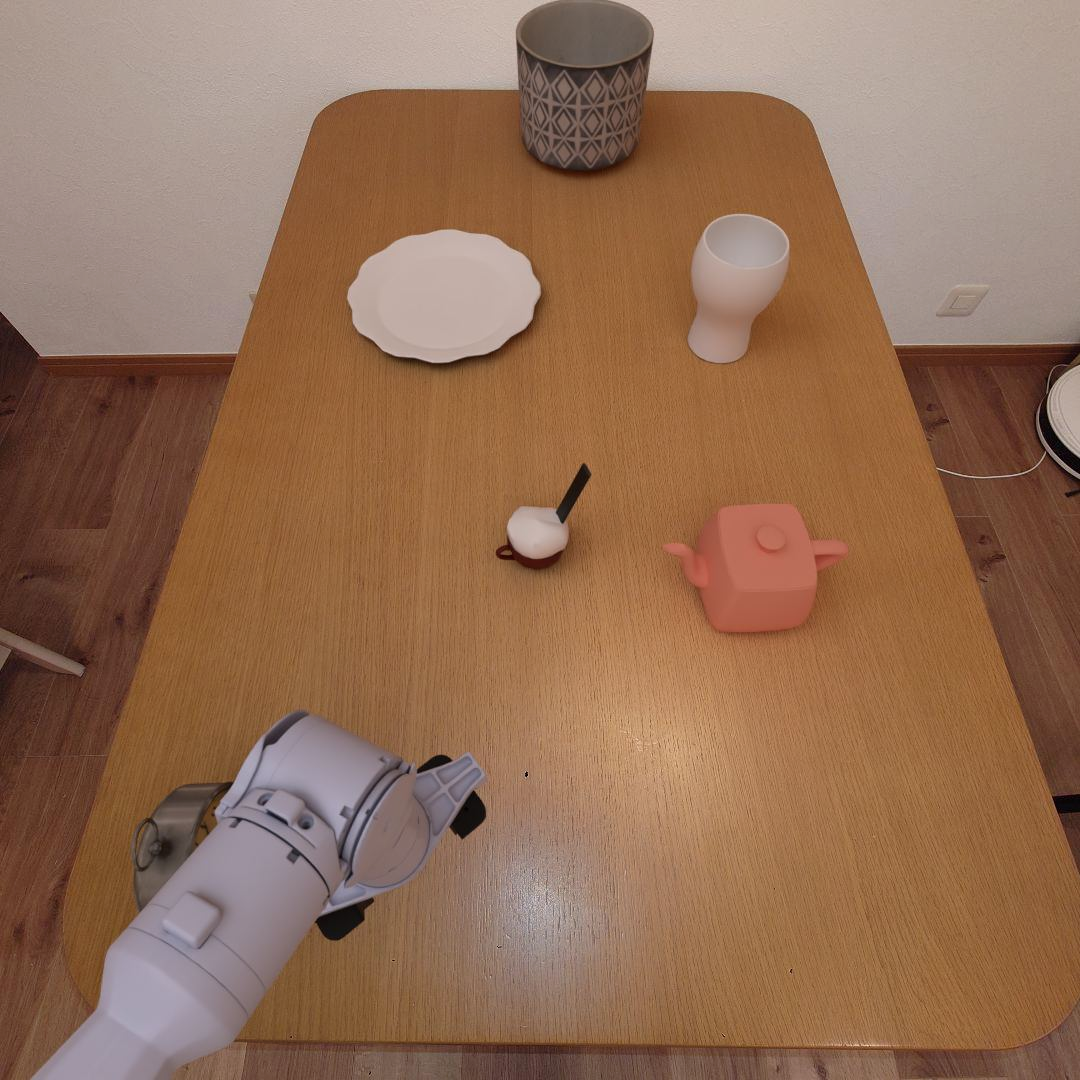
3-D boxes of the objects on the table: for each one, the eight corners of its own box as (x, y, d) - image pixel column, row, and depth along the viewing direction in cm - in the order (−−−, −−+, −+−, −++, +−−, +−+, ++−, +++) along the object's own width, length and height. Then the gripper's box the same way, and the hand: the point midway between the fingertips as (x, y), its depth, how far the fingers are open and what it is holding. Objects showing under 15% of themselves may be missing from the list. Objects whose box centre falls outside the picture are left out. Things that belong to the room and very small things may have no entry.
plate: (368, 390, 88) (365, 379, 86) (338, 260, 100) (335, 248, 98) (563, 347, 91) (563, 336, 90) (511, 227, 104) (510, 215, 102)
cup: (663, 355, 91) (683, 254, 78) (693, 303, 95) (717, 200, 82) (743, 383, 88) (778, 284, 75) (770, 328, 93) (807, 226, 80)
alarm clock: (247, 939, 58) (153, 934, 44) (180, 941, 58) (65, 935, 44) (270, 798, 64) (193, 753, 50) (209, 799, 63) (115, 755, 49)
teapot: (836, 634, 71) (879, 588, 62) (657, 644, 71) (673, 598, 62) (808, 536, 77) (843, 480, 68) (642, 544, 77) (656, 489, 68)
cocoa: (497, 579, 75) (490, 517, 64) (497, 527, 78) (490, 461, 67) (588, 576, 75) (595, 514, 64) (584, 525, 78) (590, 458, 68)
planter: (652, 124, 117) (667, 8, 103) (622, 193, 107) (635, 76, 93) (540, 104, 120) (540, -11, 106) (502, 170, 111) (496, 53, 96)
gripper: (434, 694, 45) (456, 749, 56) (220, 851, 40) (293, 876, 52) (502, 785, 42) (511, 823, 54) (281, 966, 37) (343, 964, 49)
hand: (407, 854), depth 52 cm, fingers open, 7 cm apart
